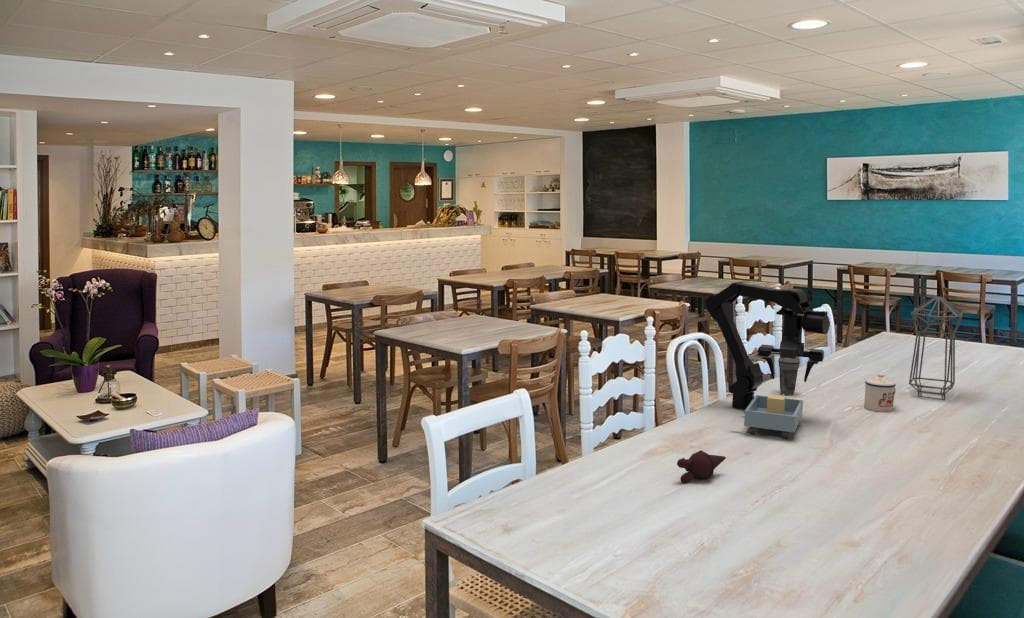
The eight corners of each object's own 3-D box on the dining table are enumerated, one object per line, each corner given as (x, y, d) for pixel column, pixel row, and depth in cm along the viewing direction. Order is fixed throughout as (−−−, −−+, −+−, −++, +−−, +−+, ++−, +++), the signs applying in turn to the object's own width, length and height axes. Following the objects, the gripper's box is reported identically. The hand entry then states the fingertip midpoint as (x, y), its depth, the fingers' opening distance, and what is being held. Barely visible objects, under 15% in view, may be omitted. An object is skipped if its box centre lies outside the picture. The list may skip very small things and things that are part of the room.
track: (723, 437, 227) (723, 432, 227) (737, 418, 247) (737, 414, 247) (796, 447, 219) (797, 442, 218) (805, 426, 238) (805, 422, 238)
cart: (743, 434, 226) (744, 410, 225) (754, 416, 243) (756, 395, 242) (793, 440, 220) (795, 416, 219) (801, 422, 237) (803, 400, 236)
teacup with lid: (881, 413, 253) (883, 378, 251) (856, 406, 261) (859, 372, 259) (905, 409, 259) (908, 374, 257) (881, 402, 267) (883, 368, 265)
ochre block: (766, 418, 230) (767, 398, 229) (768, 414, 234) (769, 394, 233) (782, 420, 228) (783, 399, 227) (784, 416, 232) (785, 396, 231)
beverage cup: (799, 397, 273) (803, 340, 270) (777, 395, 274) (780, 339, 272) (796, 392, 280) (800, 336, 277) (775, 390, 282) (778, 335, 279)
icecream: (712, 443, 202) (666, 457, 194) (732, 444, 195) (686, 458, 188) (717, 470, 201) (672, 485, 194) (738, 471, 195) (692, 487, 188)
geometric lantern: (954, 404, 265) (964, 300, 260) (902, 397, 273) (910, 297, 268) (957, 394, 278) (966, 295, 273) (907, 388, 286) (915, 292, 281)
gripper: (756, 331, 238) (753, 382, 240) (822, 337, 230) (819, 389, 232) (761, 326, 248) (759, 375, 250) (825, 331, 240) (822, 381, 242)
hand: (789, 380), depth 243 cm, fingers open, 9 cm apart
